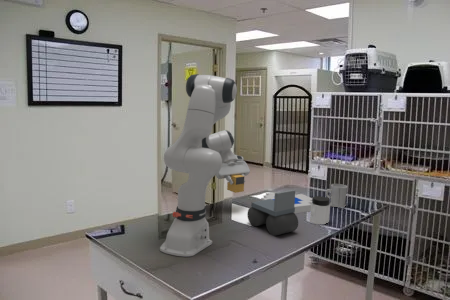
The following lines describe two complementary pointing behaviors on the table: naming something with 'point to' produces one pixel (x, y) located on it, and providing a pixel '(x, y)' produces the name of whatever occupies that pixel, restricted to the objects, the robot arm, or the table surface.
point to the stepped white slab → (300, 204)
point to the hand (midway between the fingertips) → (238, 183)
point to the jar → (320, 210)
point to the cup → (337, 195)
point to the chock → (236, 184)
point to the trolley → (275, 213)
